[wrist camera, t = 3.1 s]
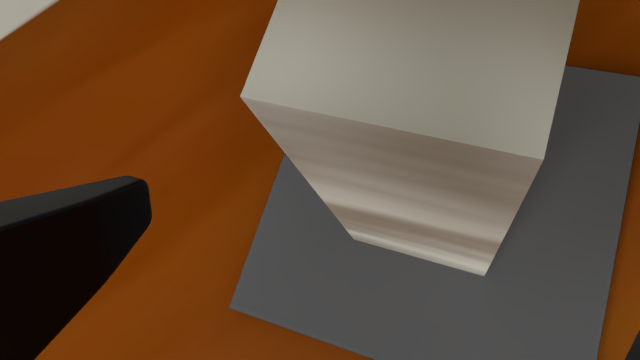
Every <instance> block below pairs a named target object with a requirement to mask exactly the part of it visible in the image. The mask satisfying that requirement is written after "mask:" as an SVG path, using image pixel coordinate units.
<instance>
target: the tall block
mask: <svg viewBox="0 0 640 360" xmlns="http://www.w3.org/2000/svg"><path fill="white" fill-rule="evenodd" d="M579 1H580V0H278V2H277V4H276V7H275V9H274V12H273V14H272V17H271V19H270V22H269V25H268V27H267V30H266V32H265V35H264V37H263V40H262V42H261V45H260V47H259V50H258V52H257V55H256V57H255V60H254V63H253V65H252V68H251V70H250V73H249V75H248V78H247V80H246V83H245V85H244V88H243V90H242V93H241V95H240V97H241V99H242V100H243V101H244V102H245V104H246V105H247V106H248V107H249V109H250V110H251V111H252V112H253V114H254V115H255V116H256V117H257V119H258V120H259V121H260V122H261V124H262V125H263V126H264V127H265V129H266V130H267V131H268V132H269V134H270V135H271V136H272V137H273V139H274V140H275V141H276V142H277V144H278V145H279V146H280V147H281V149H282V150H283V151H284V152H285V154H286V155H287V156H288V157H289V159H290V160H291V161H292V163H293V164H294V165H295V166H296V168H297V169H298V170H299V171H300V173H301V174H302V175H303V176H304V178H305V179H306V180H307V181H308V183H309V184H310V185H311V186H312V188H313V189H314V190H315V191H316V193H317V194H318V195H319V196H320V198H321V199H322V200H323V201H324V203H325V204H326V205H327V206H328V208H329V209H330V210H331V211H332V213H333V214H334V215H335V216H336V218H337V219H338V220H339V221H340V223H341V224H342V225H343V226H344V228H345V229H346V230H347V231H348V233H349V234H350V235H351V236H352V238H353V239H354V240H358V241H361V242H365V243H368V244H372V245H376V246H379V247H383V248H386V249H390V250H393V251H397V252H400V253H404V254H407V255H411V256H414V257H418V258H421V259H425V260H428V261H432V262H435V263H439V264H442V265H446V266H449V267H453V268H456V269H460V270H464V271H467V272H471V273H474V274H478V275H481V276H485V274H486V272H487V270H488V268H489V266H490V264H491V262H492V260H493V258H494V256H495V254H496V252H497V250H498V249H499V247H500V245H501V243H502V241H503V239H504V237H505V235H506V233H507V231H508V229H509V227H510V225H511V223H512V221H513V219H514V217H515V215H516V213H517V211H518V209H519V207H520V205H521V203H522V201H523V199H524V198H525V196H526V194H527V192H528V190H529V188H530V186H531V184H532V182H533V180H534V178H535V176H536V174H537V172H538V170H539V168H540V166H541V164H542V162H543V160H544V156H545V152H546V147H547V143H548V138H549V134H550V130H551V125H552V121H553V116H554V112H555V107H556V103H557V99H558V94H559V90H560V85H561V81H562V77H563V72H564V68H565V63H566V59H567V54H568V50H569V46H570V41H571V37H572V32H573V28H574V23H575V19H576V15H577V10H578V6H579Z"/></svg>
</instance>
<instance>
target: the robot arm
mask: <svg viewBox="0 0 640 360" xmlns="http://www.w3.org/2000/svg"><path fill="white" fill-rule="evenodd" d="M151 218H152V211H151V203H150V195H149V188H148V185H147V183H146V182H145V181H144V180H142V179H139V178H135V177H132V176H122V177H117V178H112V179H107V180H103V181H98V182H93V183H88V184H83V185H78V186H74V187H69V188H64V189H59V190H54V191H50V192H45V193H40V194H35V195H30V196H25V197H21V198H16V199H11V200H6V201H1V202H0V360H34V359H35V358H36V357H37V356H38V355H39V354H40V353H41V352H42V351H43V350H44V349H45V348H46V346H47V345H48V344H49V343H50V342H51V341H52V340H53V339H54V338H55V337H56V336H57V335H58V334H59V332H60V331H61V330H62V329H63V328H64V327H65V326H66V325H67V324H68V323H69V322H70V321H71V319H72V318H73V317H74V316H75V315H76V314H77V313H78V312H79V311H80V310H81V309H82V308H83V307H84V305H85V304H86V303H87V302H88V301H89V300H90V299H91V298H92V297H93V296H94V295H95V294H96V292H97V291H98V290H99V289H100V288H101V287H102V286H103V285H104V284H105V282H106V281H107V280H108V279H109V277H110V276H111V275H112V274H113V272H114V271H115V270H116V268H117V267H118V266H119V264H120V263H121V262H122V261H123V259H124V258H125V257H126V255H127V254H128V253H129V251H130V250H131V249H132V247H133V246H134V245H135V243H136V242H137V241H138V239H139V238H140V237H141V236H142V234H143V233H144V232H145V230H146V229H147V228H148V226H149V224H150V222H151ZM625 360H640V330H639V332H638V334H637V336H636V338H635V340H634V342H633V344H632V346H631V348H630V350H629V352H628V354H627V356H626V358H625Z"/></svg>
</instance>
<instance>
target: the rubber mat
mask: <svg viewBox="0 0 640 360" xmlns="http://www.w3.org/2000/svg"><path fill="white" fill-rule="evenodd" d="M639 122H640V77H638V76H631V75H624V74H618V73H611V72H605V71H598V70H592V69H585V68H579V67H572V66H566V65H565V68H564V72H563V77H562V81H561V85H560V90H559V94H558V99H557V103H556V107H555V112H554V116H553V121H552V125H551V130H550V134H549V138H548V143H547V147H546V152H545V156H544V160H543V162H542V164H541V166H540V168H539V170H538V172H537V174H536V176H535V178H534V180H533V182H532V184H531V186H530V188H529V190H528V192H527V194H526V196H525V198H524V199H523V201H522V203H521V205H520V207H519V209H518V211H517V213H516V215H515V217H514V219H513V221H512V223H511V225H510V227H509V229H508V231H507V233H506V235H505V237H504V239H503V241H502V243H501V245H500V247H499V249H498V250H497V252H496V254H495V256H494V258H493V260H492V262H491V264H490V266H489V268H488V270H487V272H486V274H485V276H481V275H478V274H474V273H471V272H467V271H464V270H460V269H456V268H453V267H449V266H446V265H442V264H439V263H435V262H432V261H428V260H425V259H421V258H418V257H414V256H411V255H407V254H404V253H400V252H397V251H393V250H390V249H386V248H383V247H379V246H376V245H372V244H368V243H365V242H361V241H358V240H354V239H353V238H352V236H351V235H350V234H349V233H348V231H347V230H346V229H345V228H344V226H343V225H342V224H341V223H340V221H339V220H338V219H337V218H336V216H335V215H334V214H333V213H332V211H331V210H330V209H329V208H328V206H327V205H326V204H325V203H324V201H323V200H322V199H321V198H320V196H319V195H318V194H317V193H316V191H315V190H314V189H313V188H312V186H311V185H310V184H309V183H308V181H307V180H306V179H305V178H304V176H303V175H302V174H301V173H300V171H299V170H298V169H297V168H296V166H295V165H294V164H293V163H292V161H291V160H290V159H289V157H288V156H287V155H286V154H284V156H283V159H282V162H281V165H280V167H279V170H278V173H277V176H276V179H275V181H274V184H273V187H272V190H271V192H270V195H269V198H268V201H267V204H266V206H265V209H264V212H263V215H262V217H261V220H260V223H259V226H258V229H257V231H256V234H255V237H254V240H253V242H252V245H251V248H250V251H249V254H248V256H247V259H246V262H245V265H244V267H243V270H242V273H241V276H240V279H239V281H238V284H237V287H236V290H235V292H234V295H233V298H232V301H231V304H230V306H229V308H231V309H233V310H236V311H239V312H242V313H245V314H248V315H250V316H253V317H256V318H259V319H262V320H264V321H267V322H270V323H273V324H276V325H278V326H281V327H284V328H287V329H290V330H292V331H295V332H298V333H301V334H304V335H307V336H309V337H312V338H315V339H318V340H321V341H323V342H326V343H329V344H332V345H335V346H337V347H340V348H343V349H346V350H349V351H351V352H354V353H357V354H360V355H363V356H366V357H368V358H371V359H374V360H597V355H598V349H599V344H600V338H601V333H602V327H603V322H604V316H605V311H606V305H607V299H608V294H609V288H610V283H611V277H612V272H613V266H614V261H615V255H616V250H617V244H618V238H619V233H620V227H621V222H622V216H623V211H624V205H625V200H626V194H627V189H628V183H629V178H630V172H631V166H632V161H633V155H634V150H635V144H636V139H637V133H638V128H639Z"/></svg>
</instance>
